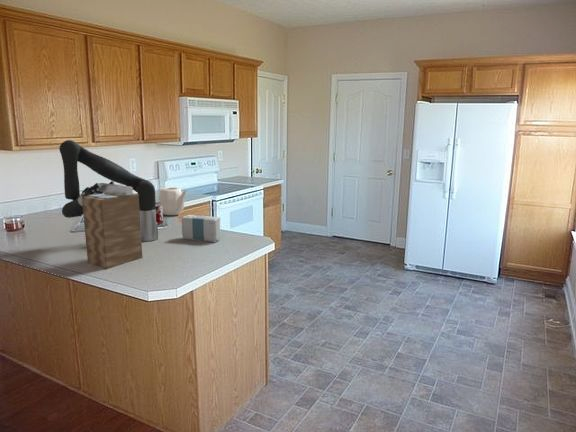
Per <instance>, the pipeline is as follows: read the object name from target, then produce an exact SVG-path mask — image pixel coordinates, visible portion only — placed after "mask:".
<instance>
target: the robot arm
mask: <svg viewBox="0 0 576 432" xmlns="http://www.w3.org/2000/svg"><path fill="white" fill-rule="evenodd" d="M59 153H60V156H61V160H62V165H63V182H64V183H63V187H64V188H63V189H64V198H65V199H66V200H71V201H69V202H67V203H65V204H64V205H63V207H62V208H61V213H62V216H63V217H65V218H67V219H71V218H78V217H83V216H84V214H83V202H82V197H85V196H87V195H92V194H104V193H105V192H100V191H96V189H98V188H99V184H98V183H99V182H96V183H94V184H93V185H91V186H90V187H89V186H87V187H86V188H84V189H83V190H82V191H80V189H81V188H80V180H79V174H78V173H79V172H78V171H79V170H78V163H80V164H82V165H85V166H86V167H88V168H89V169H90V170H92V171H93V172H94V173H96V174H98V175H100V176H101V177H102V178H105V179H107V180H108V181H109V180H110V182H109V183H108V184H114V185H116V184H119V185H122V186H130V187H132V189H133V192H135V193H136V194H139V209H140V225H141V242H153V241H156V240H158V239H159V230H158V228H159V227H158V226H159V224H158V223H157V222H156V211H155V205H156V204H157V203H156V201H157V200H156V188H155V186H154V184H153V182H151V181H150V180H147V179H144V178H142V177H140V176H138V175H135V174H133V173H131V172H130V171H128V170H127V169H125V168H124V167H123V166H121V165H119V164H118V163H116V162H114V161H112V160H110V159H108V158H105V157H103V156H102V155H99V154H96V153H94V152H92V151H90V150H88V149H86V148H85V147H83V146H82V145H80V143H79V144H78V143H77V142H76V141H74V140H72V139H68V140H64V141H63V142H61V144H60V145H59ZM115 183H116V184H115Z"/></svg>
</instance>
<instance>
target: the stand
mask: <svg viewBox="0 0 576 432" xmlns="http://www.w3.org/2000/svg"><path fill="white" fill-rule="evenodd" d="M82 202H83V223H84V224H83V225H84V234H85V246H86V247H85V248H86V256H87V258H86V259H87V264H88V265H92V266H95V267H98V268H99V267H100V268H103V269H106V270H109V269H111V268H115V267H118V266H120V265H124V264H127V263H130V262H134V261H136V260H140V259H143V244H142V243H143V241H141V225H140V209H139V194H137V193H136V192H135V193H134V192H133V194H131V195H121V194H114V193H107V192H105V193H103V194H92V195H87V196H85V197H82Z"/></svg>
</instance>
